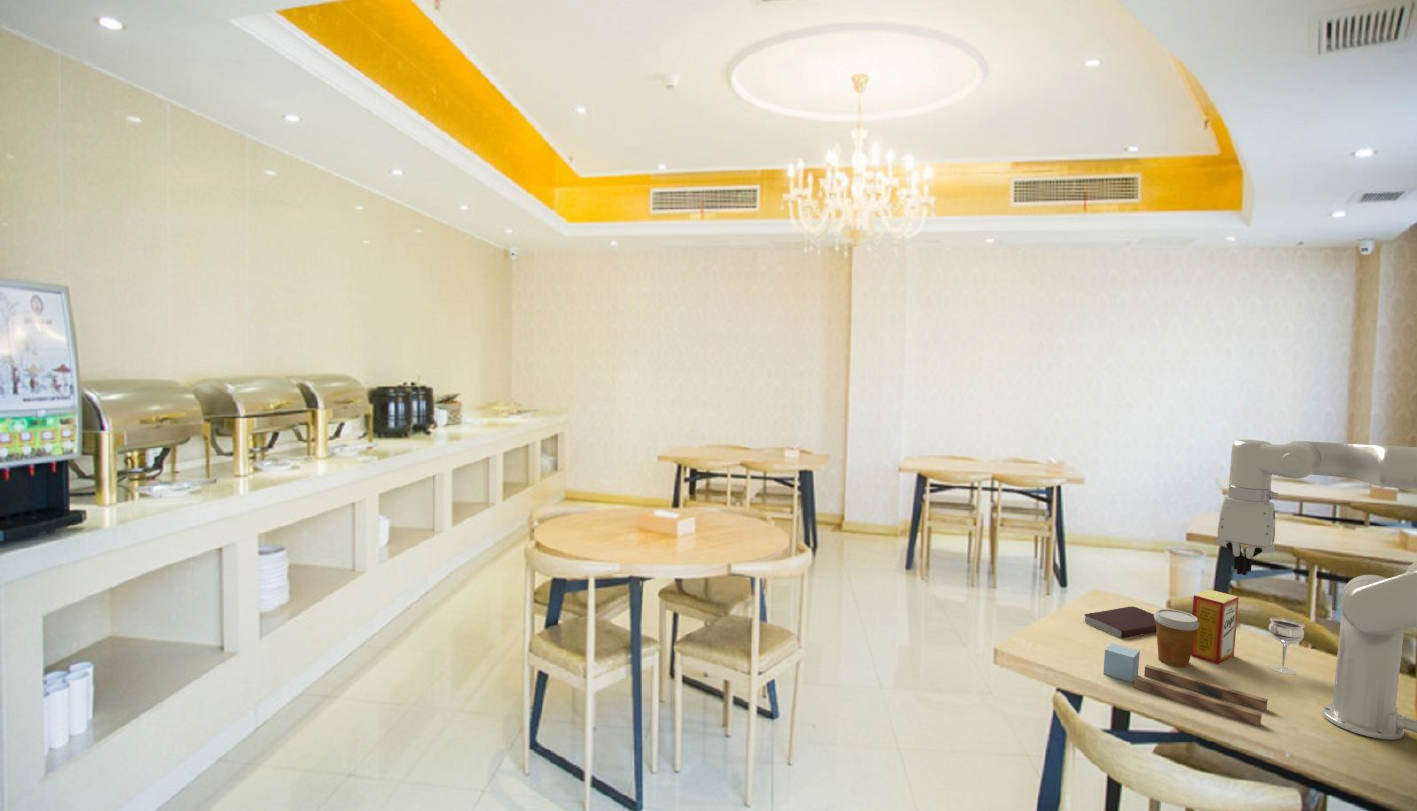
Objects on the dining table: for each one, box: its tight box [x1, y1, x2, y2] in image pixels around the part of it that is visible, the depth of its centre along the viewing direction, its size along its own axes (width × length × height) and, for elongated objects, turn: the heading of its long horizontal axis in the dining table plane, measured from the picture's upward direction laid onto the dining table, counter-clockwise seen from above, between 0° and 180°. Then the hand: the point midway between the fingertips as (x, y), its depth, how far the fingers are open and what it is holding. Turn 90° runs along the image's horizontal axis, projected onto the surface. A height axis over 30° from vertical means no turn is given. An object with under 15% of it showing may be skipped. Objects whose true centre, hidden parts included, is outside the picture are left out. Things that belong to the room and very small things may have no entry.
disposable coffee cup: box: [1154, 608, 1200, 668], centre depth 176 cm, size 10×10×12 cm
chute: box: [1133, 664, 1269, 727], centre depth 158 cm, size 23×10×2 cm, turn 45°
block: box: [1102, 643, 1141, 683], centre depth 169 cm, size 6×6×6 cm
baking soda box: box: [1190, 588, 1240, 665], centre depth 181 cm, size 10×6×16 cm
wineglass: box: [1268, 616, 1305, 675], centre depth 173 cm, size 7×7×12 cm
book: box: [1083, 605, 1157, 639], centre depth 200 cm, size 12×19×3 cm, turn 110°
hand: (1242, 573), depth 161 cm, fingers closed
